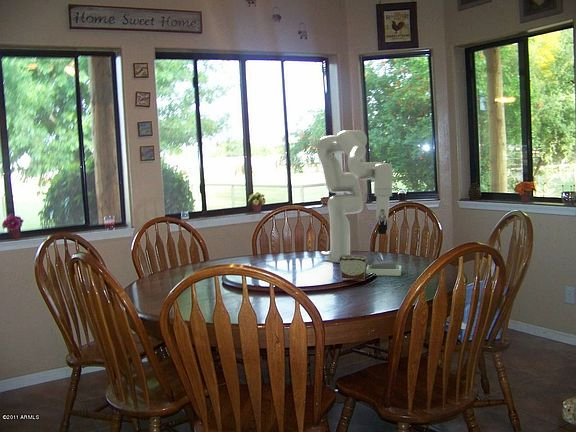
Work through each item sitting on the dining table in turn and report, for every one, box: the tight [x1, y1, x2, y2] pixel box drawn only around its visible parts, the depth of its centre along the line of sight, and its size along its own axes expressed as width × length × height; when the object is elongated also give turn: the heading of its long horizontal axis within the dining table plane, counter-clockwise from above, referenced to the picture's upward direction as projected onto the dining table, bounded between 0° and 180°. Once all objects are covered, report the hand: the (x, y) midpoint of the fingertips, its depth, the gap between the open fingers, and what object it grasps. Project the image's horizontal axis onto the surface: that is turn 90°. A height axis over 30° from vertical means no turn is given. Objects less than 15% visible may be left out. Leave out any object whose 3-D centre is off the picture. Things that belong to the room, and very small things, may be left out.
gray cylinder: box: [371, 261, 397, 269], centre depth 279 cm, size 11×4×4 cm, turn 79°
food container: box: [338, 254, 369, 279], centre depth 268 cm, size 12×6×10 cm, turn 71°
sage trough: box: [365, 264, 402, 277], centre depth 279 cm, size 15×9×3 cm, turn 79°
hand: (382, 232), depth 277 cm, fingers open, 9 cm apart
